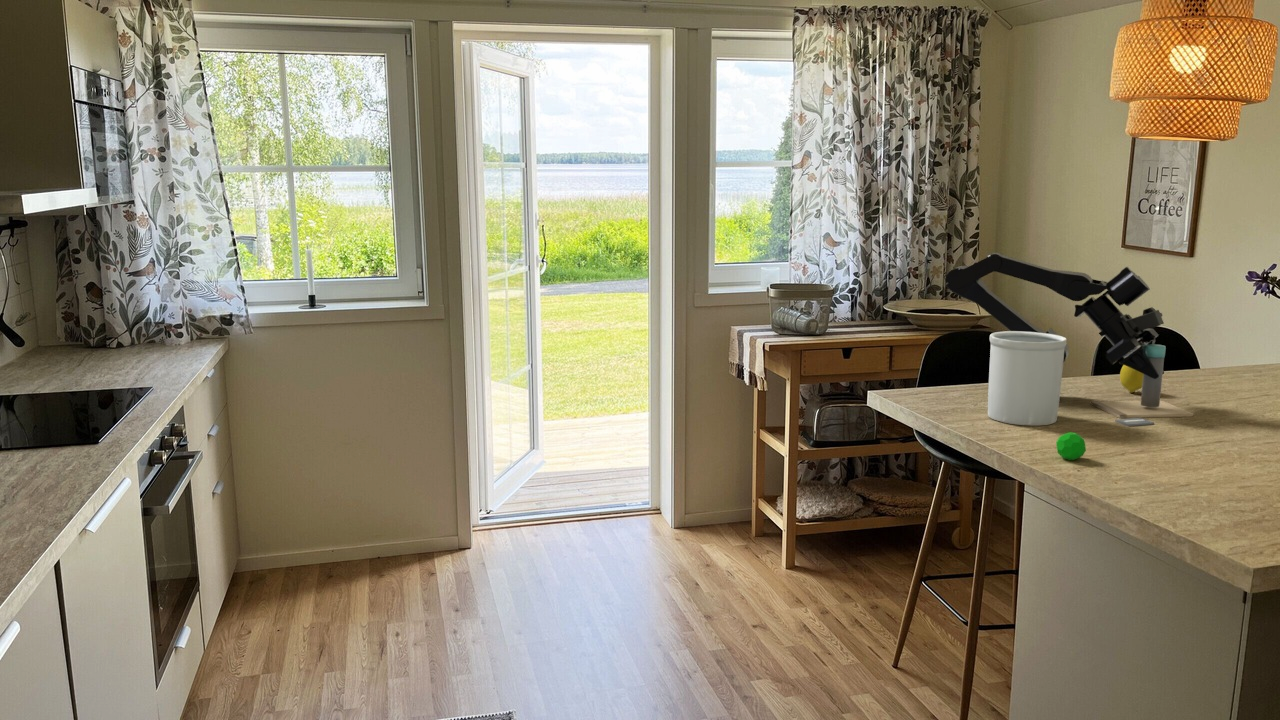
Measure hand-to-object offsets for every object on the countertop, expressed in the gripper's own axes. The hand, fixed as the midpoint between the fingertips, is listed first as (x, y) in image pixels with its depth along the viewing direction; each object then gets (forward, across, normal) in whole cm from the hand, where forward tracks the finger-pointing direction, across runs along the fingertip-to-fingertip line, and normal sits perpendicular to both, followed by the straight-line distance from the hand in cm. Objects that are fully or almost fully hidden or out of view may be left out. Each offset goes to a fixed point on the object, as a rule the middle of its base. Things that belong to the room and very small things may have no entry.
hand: (1159, 376), depth 208 cm
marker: (+4, 0, +6) cm, 7 cm away
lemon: (-1, +16, +12) cm, 20 cm away
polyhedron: (+4, -46, +8) cm, 47 cm away
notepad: (+3, 0, +8) cm, 8 cm away
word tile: (+5, -12, +6) cm, 15 cm away
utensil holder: (-9, -23, +20) cm, 32 cm away
